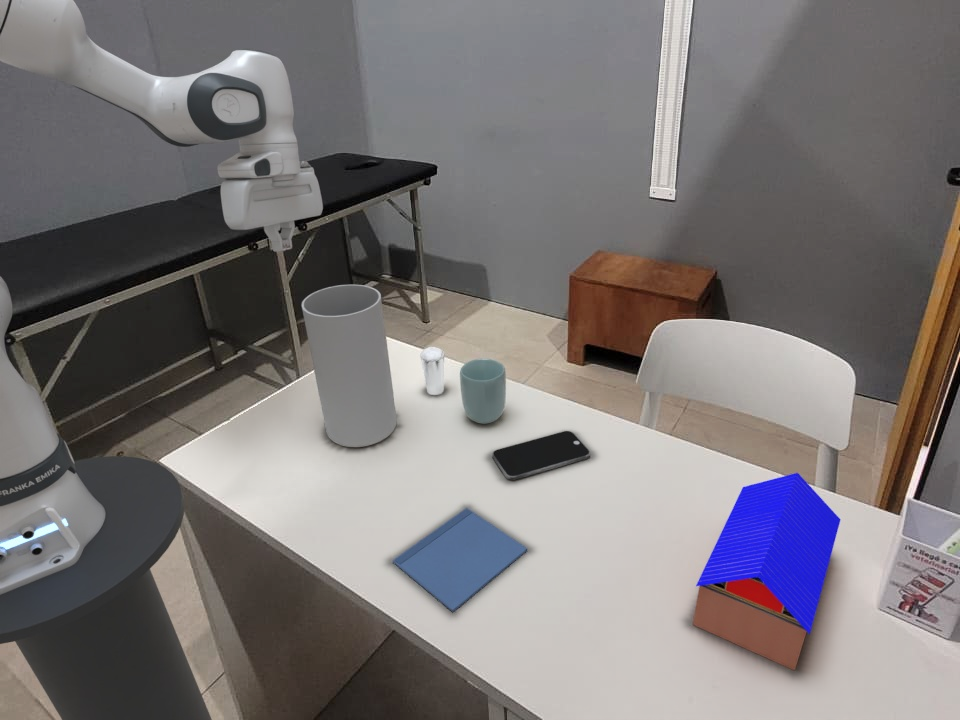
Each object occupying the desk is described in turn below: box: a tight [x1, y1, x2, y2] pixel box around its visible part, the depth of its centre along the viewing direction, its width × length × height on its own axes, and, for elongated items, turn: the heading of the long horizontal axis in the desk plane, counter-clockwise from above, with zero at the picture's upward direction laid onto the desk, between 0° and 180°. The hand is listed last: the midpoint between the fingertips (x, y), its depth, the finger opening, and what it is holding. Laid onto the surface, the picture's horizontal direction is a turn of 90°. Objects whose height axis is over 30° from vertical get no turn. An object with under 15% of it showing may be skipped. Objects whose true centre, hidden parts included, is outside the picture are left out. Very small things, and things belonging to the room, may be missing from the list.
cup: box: [459, 358, 507, 425], centre depth 115 cm, size 8×8×10 cm
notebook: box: [392, 507, 528, 613], centre depth 88 cm, size 14×12×1 cm
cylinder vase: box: [301, 284, 398, 448], centre depth 110 cm, size 12×12×25 cm
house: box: [692, 472, 841, 671], centre depth 79 cm, size 12×20×12 cm, turn 146°
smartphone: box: [491, 430, 591, 481], centre depth 106 cm, size 8×1×15 cm
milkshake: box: [419, 346, 445, 396], centre depth 123 cm, size 4×5×10 cm
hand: (282, 250), depth 108 cm, fingers closed
